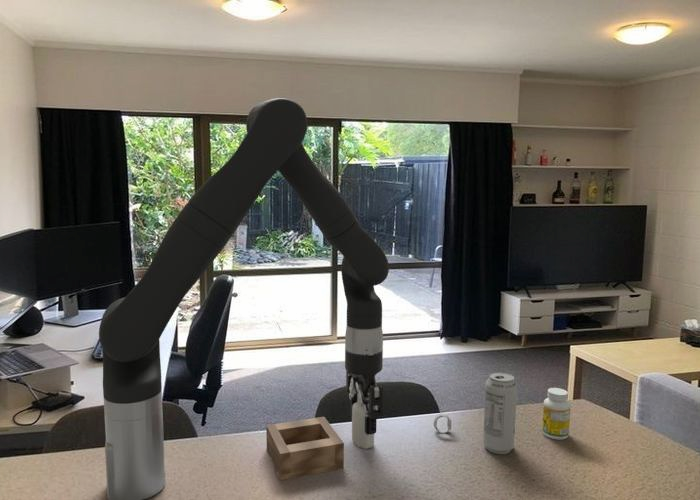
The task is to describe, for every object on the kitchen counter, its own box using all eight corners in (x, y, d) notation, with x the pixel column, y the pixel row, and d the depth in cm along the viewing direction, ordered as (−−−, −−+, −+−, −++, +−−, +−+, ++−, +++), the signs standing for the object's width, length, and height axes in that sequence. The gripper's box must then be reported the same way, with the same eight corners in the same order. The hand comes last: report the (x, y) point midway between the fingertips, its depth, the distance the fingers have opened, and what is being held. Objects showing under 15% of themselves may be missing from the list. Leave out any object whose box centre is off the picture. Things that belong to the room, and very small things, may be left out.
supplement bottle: (568, 442, 115) (571, 397, 113) (541, 437, 116) (544, 394, 115) (568, 431, 120) (571, 388, 118) (542, 427, 121) (544, 385, 120)
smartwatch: (433, 433, 118) (434, 416, 117) (432, 429, 120) (433, 411, 119) (450, 434, 118) (451, 416, 117) (449, 429, 120) (450, 412, 119)
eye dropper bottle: (372, 436, 116) (373, 381, 115) (374, 449, 111) (375, 392, 109) (351, 436, 116) (352, 381, 115) (352, 449, 111) (353, 392, 109)
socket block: (280, 480, 99) (280, 453, 99) (266, 449, 111) (266, 425, 110) (343, 468, 104) (343, 443, 103) (324, 439, 115) (324, 416, 114)
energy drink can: (520, 452, 110) (524, 379, 108) (494, 457, 108) (498, 383, 106) (501, 438, 116) (504, 369, 114) (476, 443, 114) (479, 373, 112)
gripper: (334, 338, 116) (334, 413, 118) (359, 360, 103) (358, 443, 105) (367, 335, 119) (366, 408, 121) (396, 355, 105) (394, 437, 108)
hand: (363, 424), depth 113 cm, fingers open, 7 cm apart
